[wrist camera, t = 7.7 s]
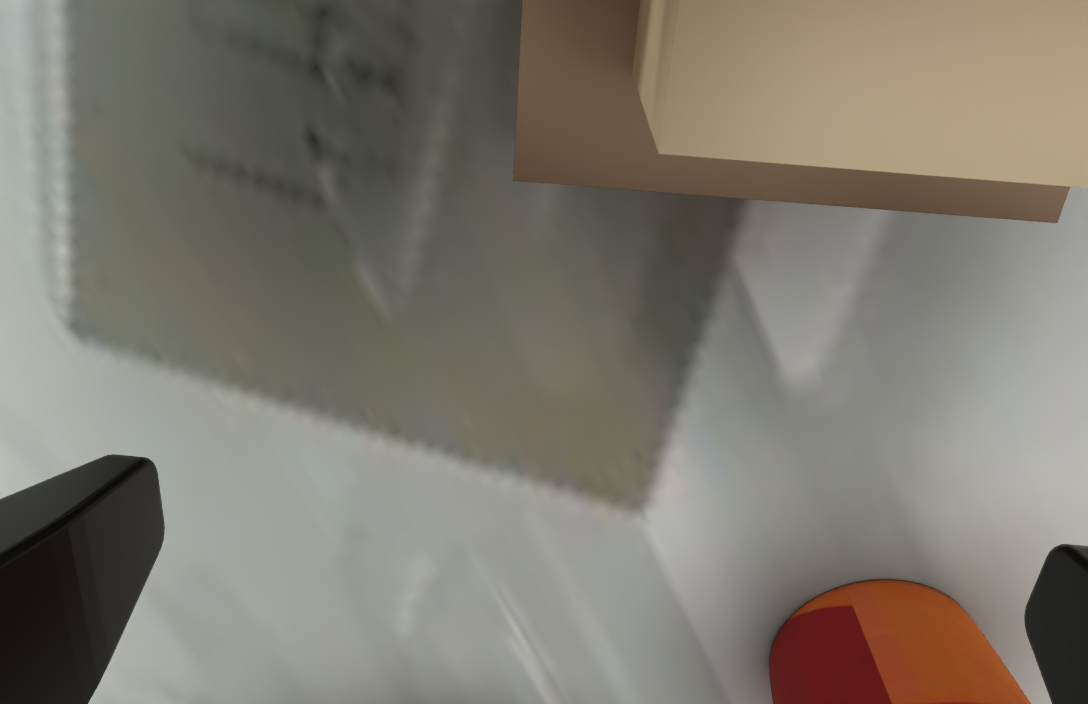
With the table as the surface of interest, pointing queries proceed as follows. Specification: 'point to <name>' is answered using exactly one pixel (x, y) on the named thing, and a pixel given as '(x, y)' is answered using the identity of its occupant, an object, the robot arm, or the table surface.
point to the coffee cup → (887, 651)
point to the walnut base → (634, 162)
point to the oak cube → (872, 84)
